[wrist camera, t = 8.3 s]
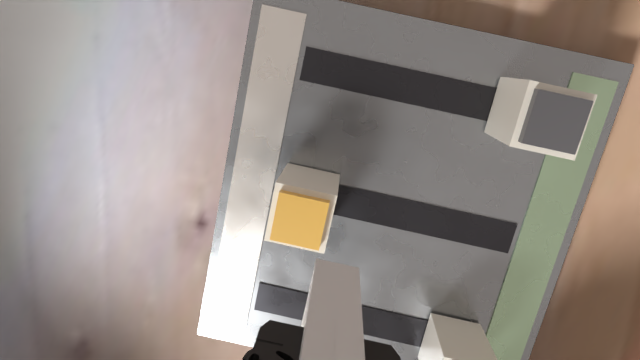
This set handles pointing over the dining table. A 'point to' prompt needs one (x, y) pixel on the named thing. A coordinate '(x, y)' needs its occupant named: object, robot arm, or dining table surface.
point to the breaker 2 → (539, 117)
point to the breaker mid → (302, 208)
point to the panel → (399, 174)
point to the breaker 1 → (454, 340)
